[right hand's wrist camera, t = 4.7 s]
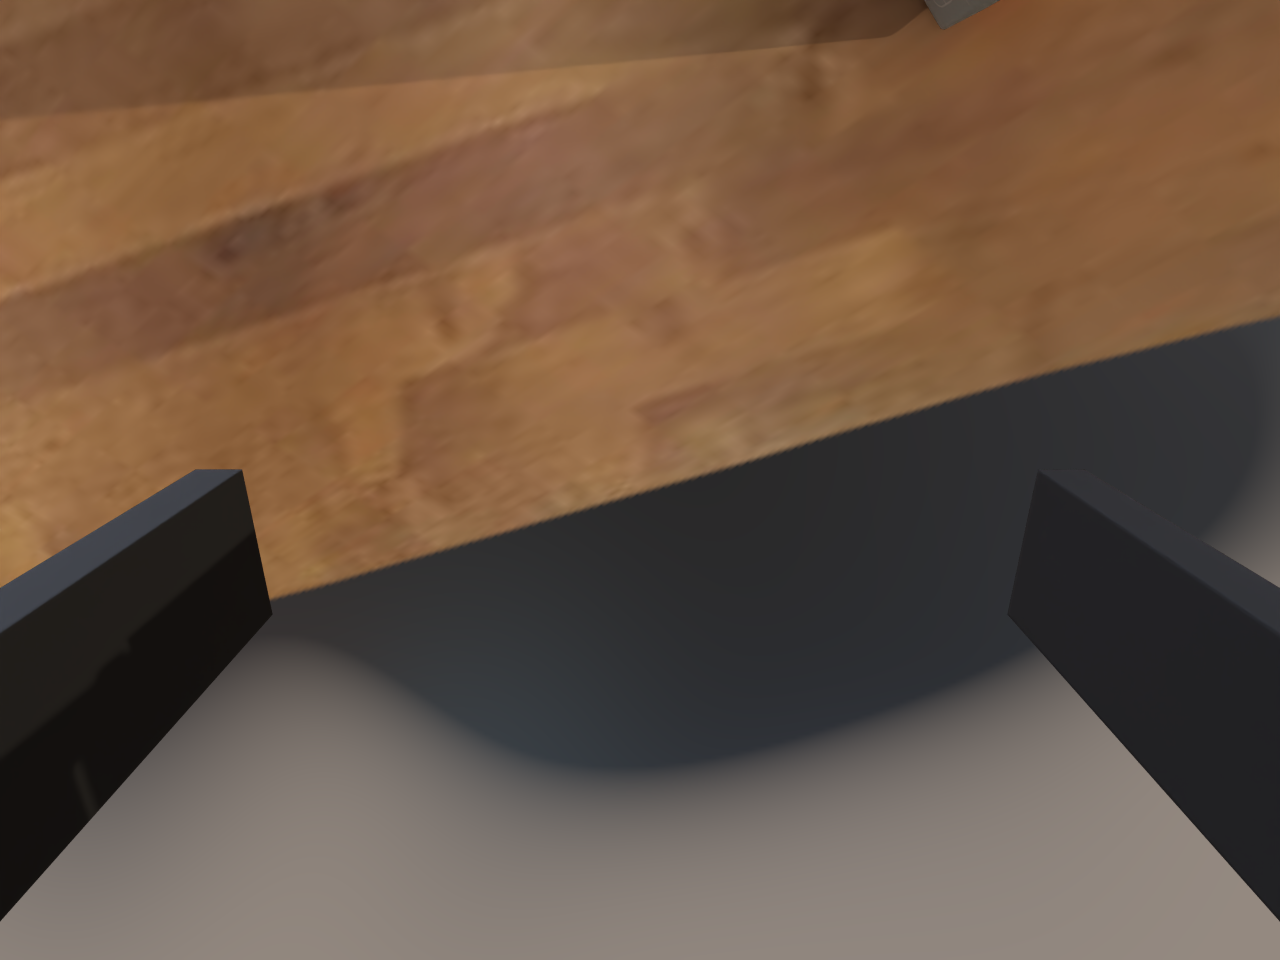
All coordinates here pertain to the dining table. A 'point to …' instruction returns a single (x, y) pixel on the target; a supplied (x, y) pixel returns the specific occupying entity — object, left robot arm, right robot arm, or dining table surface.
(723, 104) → the dining table surface
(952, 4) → the hard drive box
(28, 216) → the dining table surface
